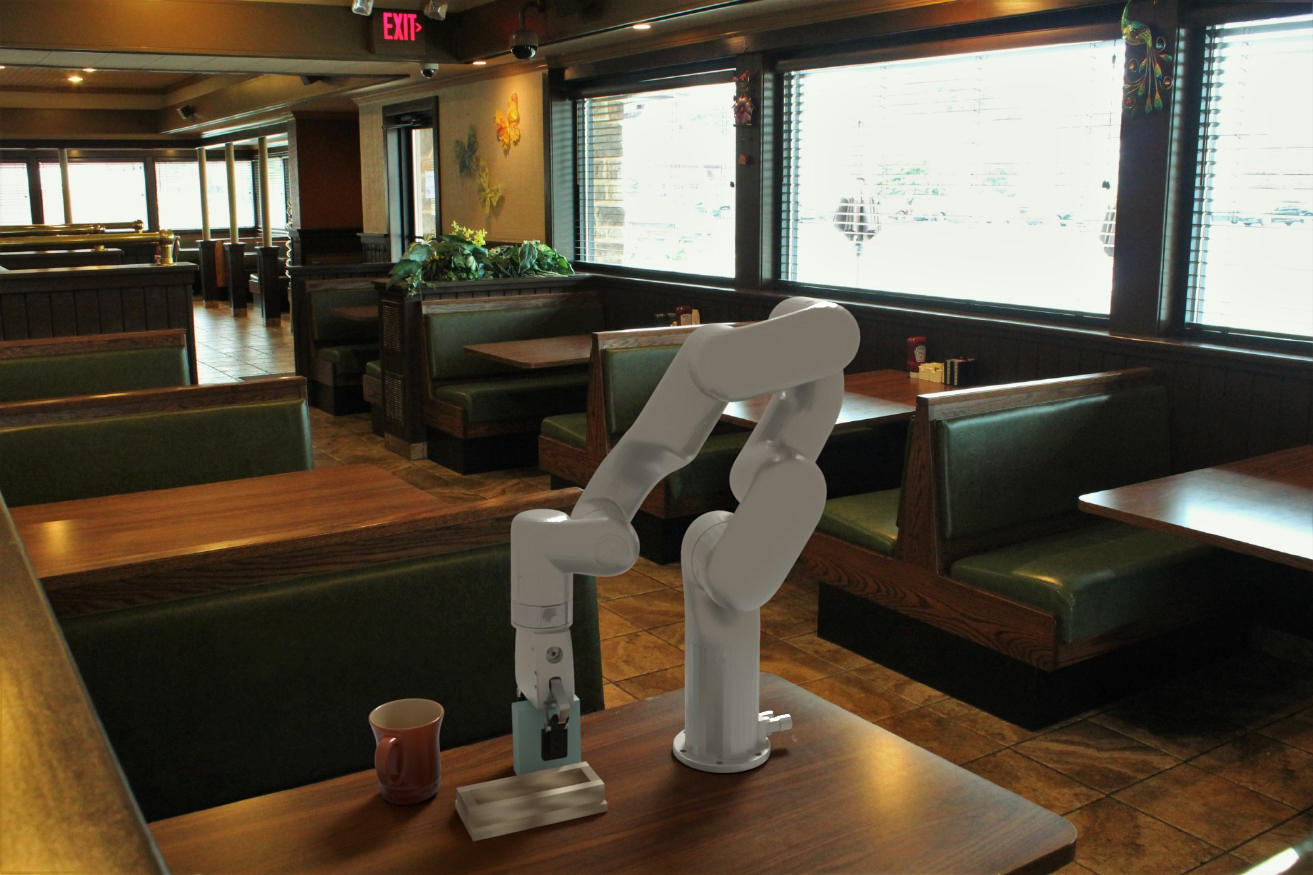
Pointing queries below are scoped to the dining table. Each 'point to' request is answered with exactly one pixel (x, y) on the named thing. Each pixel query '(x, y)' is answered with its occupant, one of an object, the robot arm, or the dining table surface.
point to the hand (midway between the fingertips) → (541, 741)
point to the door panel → (529, 737)
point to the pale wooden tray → (530, 800)
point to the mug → (407, 749)
